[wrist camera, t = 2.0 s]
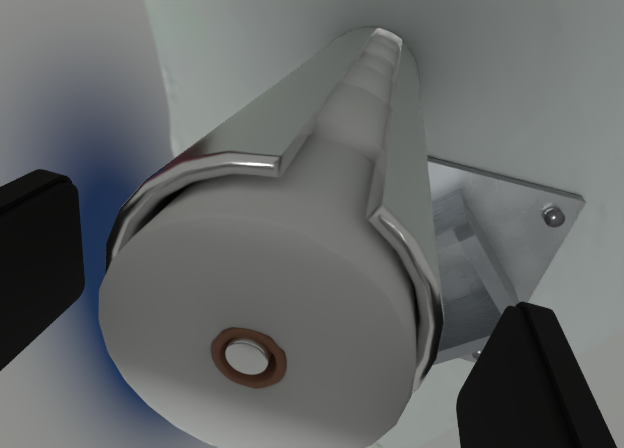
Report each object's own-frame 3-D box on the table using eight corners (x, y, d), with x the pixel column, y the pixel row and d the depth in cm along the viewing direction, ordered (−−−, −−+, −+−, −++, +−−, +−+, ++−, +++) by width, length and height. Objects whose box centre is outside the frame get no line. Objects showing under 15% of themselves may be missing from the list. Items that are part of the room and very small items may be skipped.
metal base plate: (352, 137, 31) (341, 167, 26) (581, 195, 30) (617, 240, 25) (309, 306, 39) (294, 356, 34) (487, 358, 38) (500, 417, 33)
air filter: (437, 92, 28) (528, 430, 7) (354, 145, 31) (233, 506, 10) (382, 3, 27) (270, 75, 5) (300, 68, 29) (-3, 295, 8)
